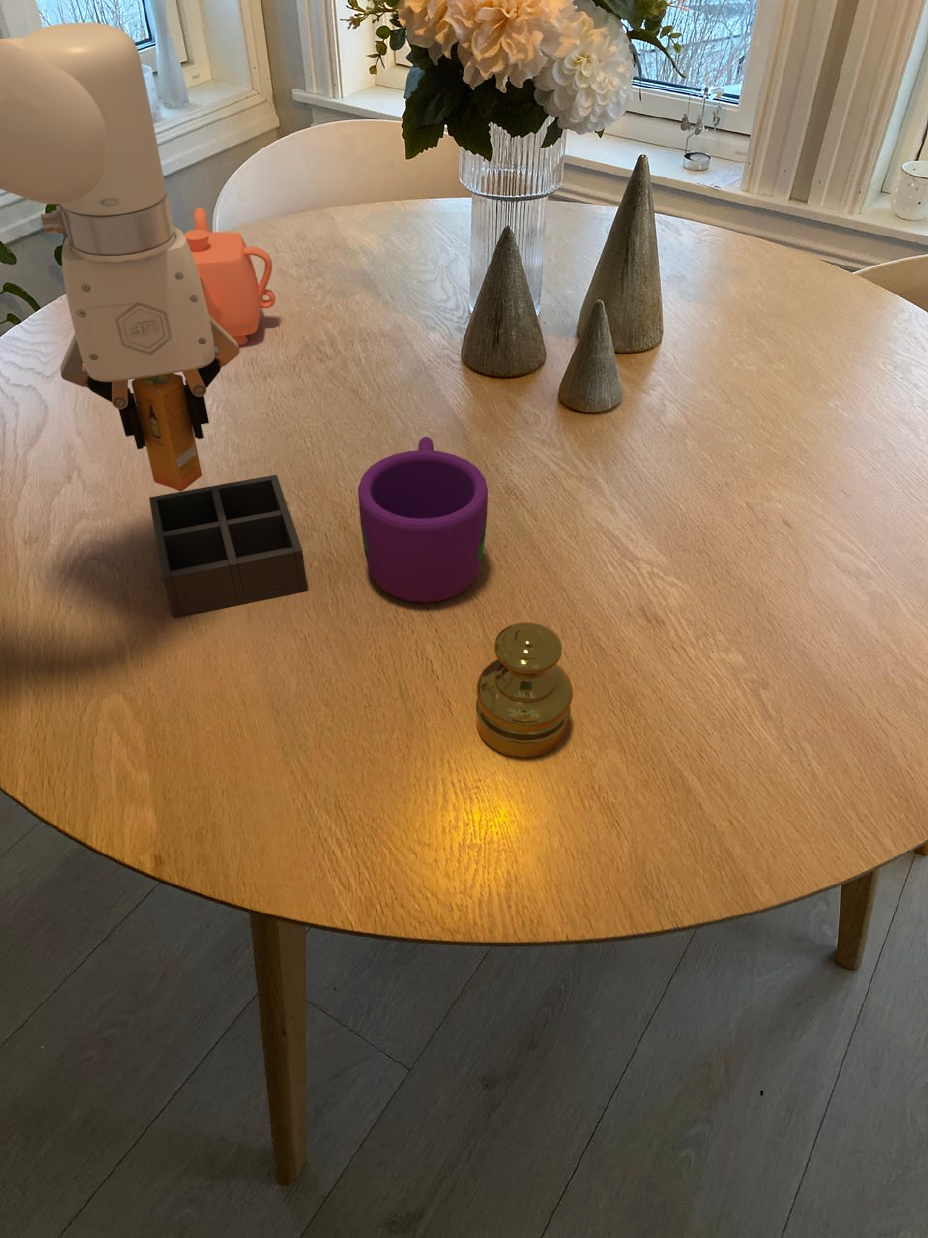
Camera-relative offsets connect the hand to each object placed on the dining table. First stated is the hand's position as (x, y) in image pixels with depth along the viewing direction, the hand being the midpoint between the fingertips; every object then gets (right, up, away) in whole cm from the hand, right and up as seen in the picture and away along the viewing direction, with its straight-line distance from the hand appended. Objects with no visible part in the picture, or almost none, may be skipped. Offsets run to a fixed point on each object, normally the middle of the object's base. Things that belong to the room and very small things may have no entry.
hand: (168, 433), depth 83 cm
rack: (+4, -11, +8) cm, 14 cm away
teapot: (-7, +21, +41) cm, 47 cm away
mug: (+22, -10, +10) cm, 26 cm away
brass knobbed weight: (+30, -25, -6) cm, 39 cm away
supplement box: (0, -4, +3) cm, 5 cm away
